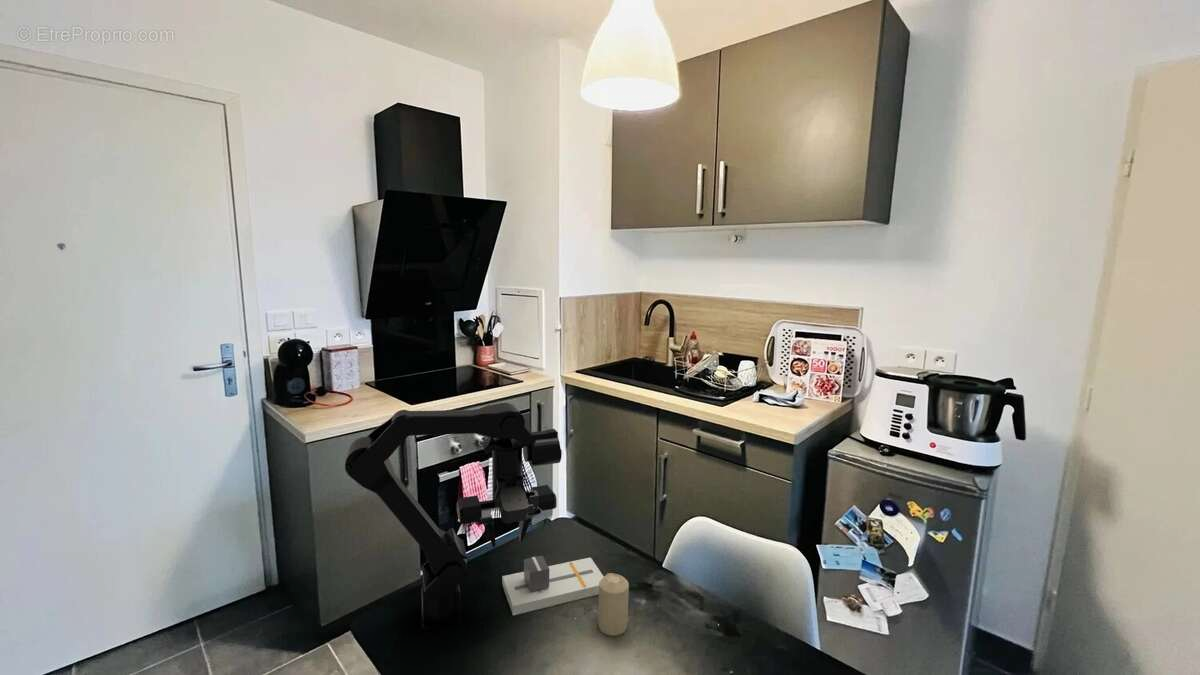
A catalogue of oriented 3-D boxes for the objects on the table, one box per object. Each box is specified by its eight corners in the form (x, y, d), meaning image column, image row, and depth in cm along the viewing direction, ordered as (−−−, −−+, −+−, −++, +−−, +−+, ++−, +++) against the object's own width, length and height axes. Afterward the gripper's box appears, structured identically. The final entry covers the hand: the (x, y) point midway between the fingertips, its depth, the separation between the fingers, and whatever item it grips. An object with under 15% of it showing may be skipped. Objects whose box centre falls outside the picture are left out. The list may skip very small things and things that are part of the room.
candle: (630, 619, 94) (632, 571, 93) (622, 639, 89) (624, 588, 88) (603, 612, 96) (604, 565, 95) (594, 631, 91) (595, 581, 90)
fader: (529, 591, 98) (530, 572, 98) (523, 577, 103) (523, 558, 102) (549, 587, 100) (549, 568, 99) (542, 573, 104) (542, 555, 104)
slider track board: (512, 615, 95) (512, 605, 94) (502, 585, 104) (502, 575, 103) (607, 592, 102) (608, 582, 102) (590, 565, 111) (590, 556, 111)
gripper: (463, 493, 85) (464, 577, 87) (566, 478, 92) (564, 556, 94) (455, 469, 95) (457, 544, 97) (548, 457, 102) (548, 528, 104)
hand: (507, 543), depth 98 cm, fingers open, 5 cm apart
